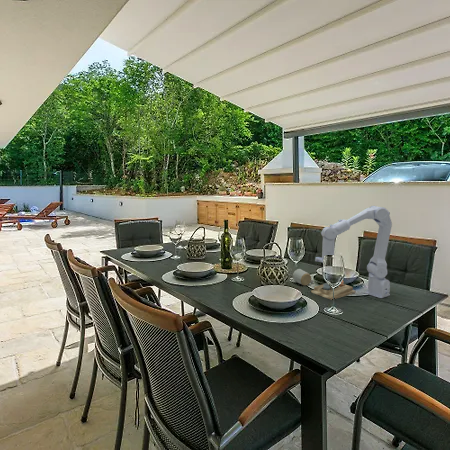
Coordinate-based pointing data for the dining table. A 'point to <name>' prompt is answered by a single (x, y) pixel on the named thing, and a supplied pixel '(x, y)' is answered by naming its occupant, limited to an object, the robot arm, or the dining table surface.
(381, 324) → the dining table surface
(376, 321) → the dining table surface
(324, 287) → the slate button
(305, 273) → the grey canister
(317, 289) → the light wood flat board
